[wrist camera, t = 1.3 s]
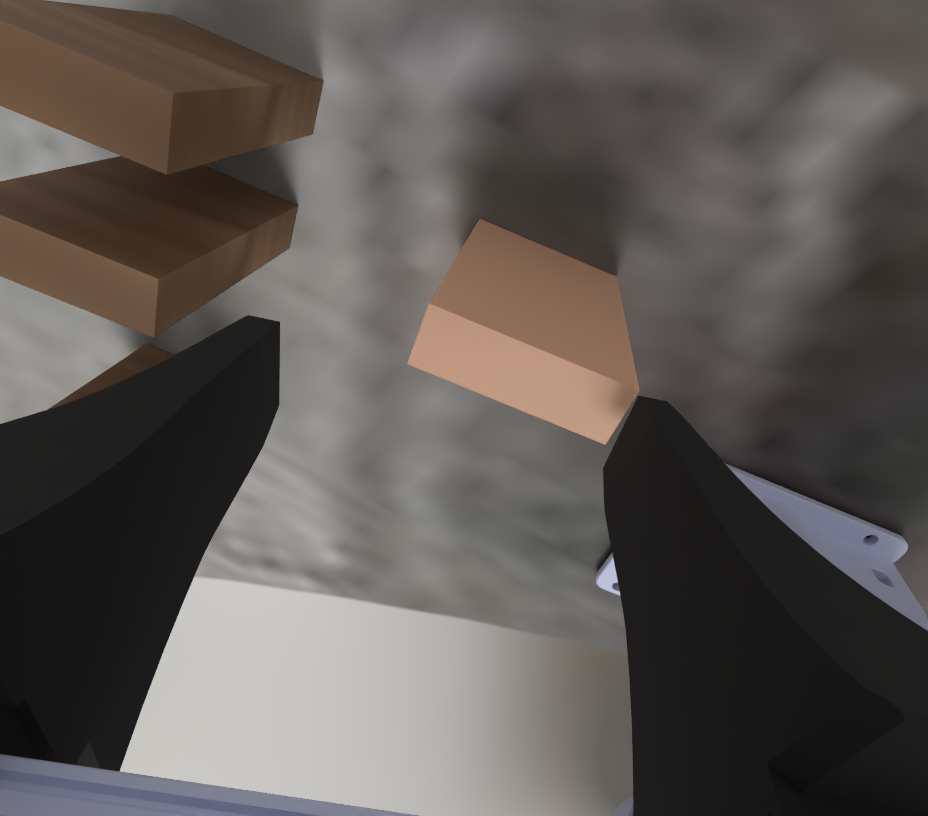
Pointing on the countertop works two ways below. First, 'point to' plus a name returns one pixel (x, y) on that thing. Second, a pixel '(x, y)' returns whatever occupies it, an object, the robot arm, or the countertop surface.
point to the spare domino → (531, 333)
